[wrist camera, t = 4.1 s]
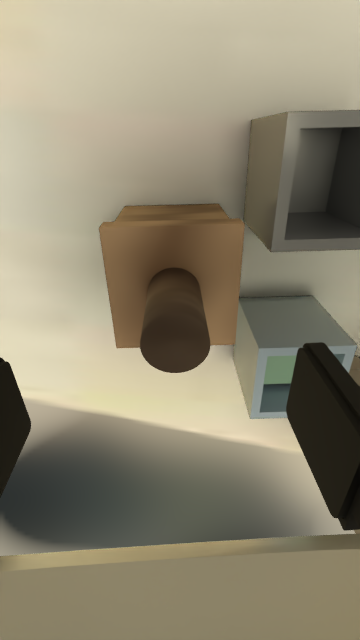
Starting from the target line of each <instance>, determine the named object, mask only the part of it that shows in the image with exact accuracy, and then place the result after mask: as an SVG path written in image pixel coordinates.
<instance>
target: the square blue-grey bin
mask: <svg viewBox="0 0 360 640" xmlns="http://www.w3.org/2000/svg"><path fill="white" fill-rule="evenodd" d="M317 342H323V343H325V344H326V345H327V347H328V348H329V349H330V350H331V352H332V353H333V354H334V355H335V357H336V358H337V359H338V360H339V362H340V363H341V364H342V366H343V367H344V368H345V369H346V371H347V372H348V373H349V371H350V367H351V364H352V361H353V358H354V355H355V351H356V348H357V344H356V343H355V342H354V341H353V340H352V339H351V338H350V337H349V336H348V334H347V333H346V332H345V331H344V330H343V329H342V328H341V327H340V326H339V324H338V323H337V322H336V321H335V320H334V319H333V318H332V317H331V315H330V314H329V313H328V312H327V311H326V310H325V309H324V308H323V307H322V305H321V304H320V303H319V302H318V301H317V300H316V299H315V298H314V297H313V296H284V297H251V298H239V303H238V315H237V328H236V341H235V344H234V353H233V360H234V364H235V367H236V371H237V374H238V378H239V381H240V385H241V389H242V392H243V396H244V399H245V403H246V406H247V410H248V414H249V417H250V419H265V418H288V417H287V413H286V405H287V400H288V396H289V391H290V386H291V383H287V384H264V378H265V371H266V364H267V357H268V356H292V355H297V351H298V349H299V348H303V345H304V344H305V343H317Z"/></svg>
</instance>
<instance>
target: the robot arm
mask: <svg viewBox="0 0 360 640" xmlns="http://www.w3.org/2000/svg"><path fill="white" fill-rule="evenodd" d="M286 413H287V417H288V420H289V422H290V424H291V427H292V429H293V431H294V433H295V435H296V438H297V440H298V442H299V444H300V447H301V449H302V451H303V453H304V456H305V458H306V460H307V462H308V465H309V467H310V469H311V471H312V473H313V475H314V478H315V480H316V482H317V485H318V487H319V489H320V491H321V493H322V496H323V498H324V500H325V502H326V505H327V507H328V509H329V511H330V513H331V515H332V516H333V517H334V518H338V519H339V521H340V523H341V526H342V528H343V530H359V529H360V386H359V385H358V384H357V383H356V382H355V381H354V379H353V378H352V377H351V376H350V374H349V373H348V372H347V371H346V369H345V368H344V367H343V366H342V364H341V363H340V362H339V360H338V359H337V358H336V357H335V355H334V354H333V353H332V352H331V350H330V349H329V348H328V347H327V345H326V344H325V343H323V342H317V343H305V344H304V345H303V348H299V349H298V351H297V356H296V361H295V366H294V371H293V376H292V381H291V386H290V391H289V396H288V400H287V405H286ZM30 429H31V421H30V418H29V415H28V412H27V410H26V407H25V404H24V402H23V399H22V396H21V393H20V391H19V388H18V385H17V382H16V380H15V377H14V374H13V371H12V369H11V366H10V364H9V363H8V362H5V361H4V360H3V359H2V358H0V497H1V495H2V493H3V491H4V488H5V486H6V484H7V482H8V479H9V477H10V474H11V473H12V470H13V468H14V466H15V464H16V462H17V459H18V457H19V455H20V452H21V450H22V448H23V446H24V444H25V441H26V439H27V437H28V435H29V432H30ZM0 640H360V534H342V535H320V536H298V537H282V538H266V539H248V540H232V541H215V542H199V543H185V544H170V545H154V546H139V547H124V548H109V549H95V550H80V551H66V552H51V553H39V554H24V555H10V556H0Z"/></svg>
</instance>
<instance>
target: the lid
mask: <svg viewBox="0 0 360 640" xmlns="http://www.w3.org/2000/svg"><path fill="white" fill-rule="evenodd" d="M244 227H245V224H244V222H243V221H242V220H241V219H240V218H236V219H200V220H164V221H128V222H103V223H102V225H101V226H100V227H99V232H100V239H101V246H102V252H103V259H104V266H105V273H106V280H107V286H108V293H109V300H110V307H111V313H112V320H113V327H114V334H115V340H116V347H117V348H138V347H140V349H141V352H142V355H143V357H144V358H145V360H146V361H147V362H148V363H149V364H150V365H152V366H153V367H155V368H156V369H159V370H161V371H164V372H169V373H181V372H186V371H189V370H191V369H193V368H195V367H197V366H198V365H200V364H201V363H202V362H203V361H204V360H205V358H206V357H207V355H208V353H209V350H210V345H232V344H235V341H236V328H237V315H238V303H239V290H240V277H241V265H242V252H243V239H244Z"/></svg>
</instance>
